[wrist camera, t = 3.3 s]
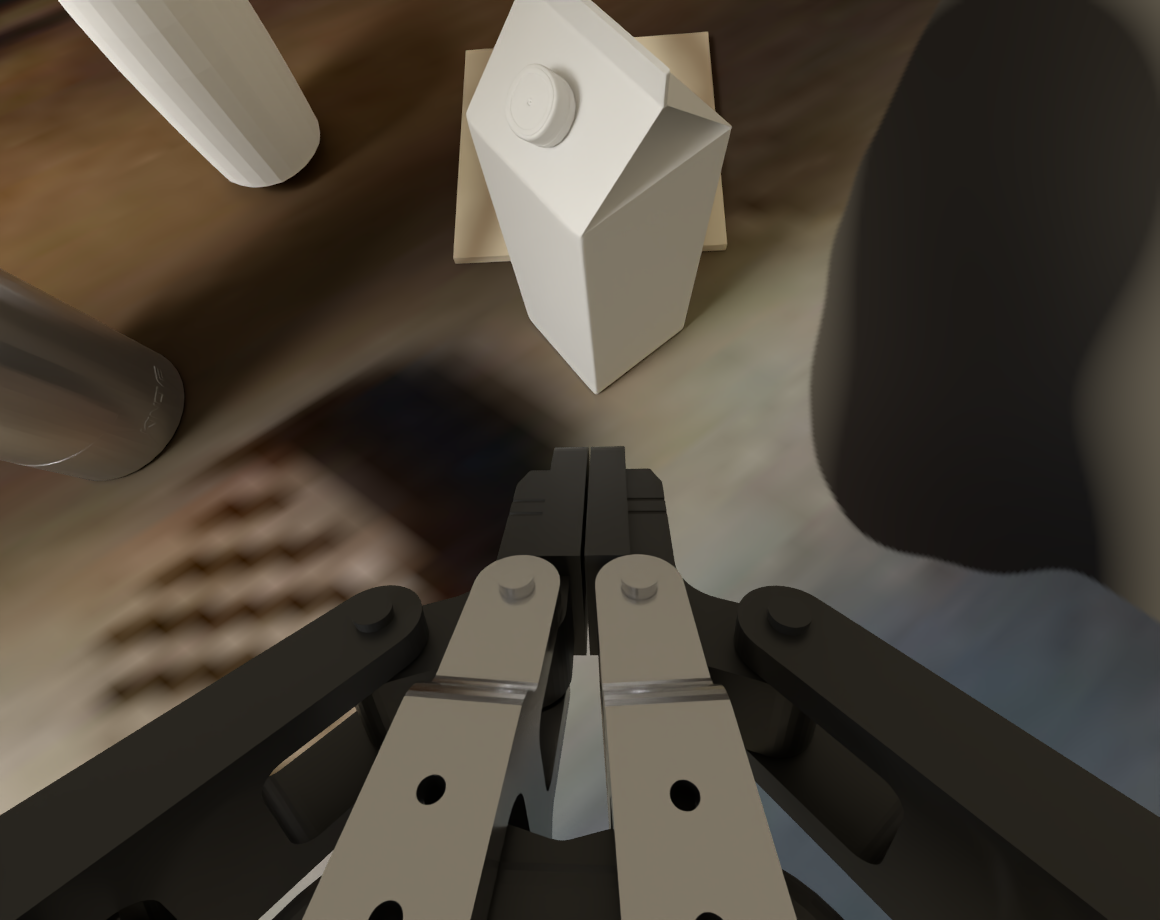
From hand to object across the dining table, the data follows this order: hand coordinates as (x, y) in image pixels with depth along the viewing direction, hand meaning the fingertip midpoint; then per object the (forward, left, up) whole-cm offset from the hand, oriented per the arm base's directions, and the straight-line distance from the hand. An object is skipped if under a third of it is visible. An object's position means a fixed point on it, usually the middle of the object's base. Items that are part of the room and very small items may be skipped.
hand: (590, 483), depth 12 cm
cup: (-24, +30, -20) cm, 43 cm away
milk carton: (0, +15, -20) cm, 24 cm away
